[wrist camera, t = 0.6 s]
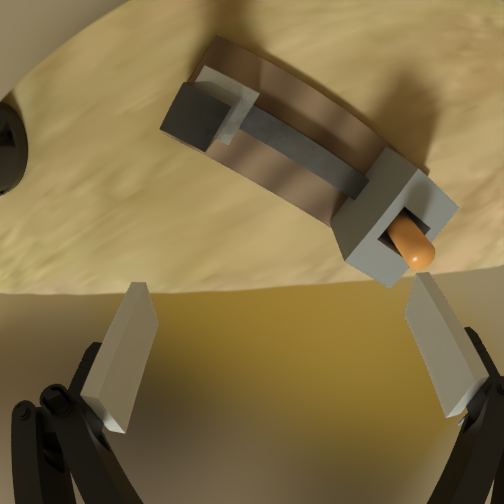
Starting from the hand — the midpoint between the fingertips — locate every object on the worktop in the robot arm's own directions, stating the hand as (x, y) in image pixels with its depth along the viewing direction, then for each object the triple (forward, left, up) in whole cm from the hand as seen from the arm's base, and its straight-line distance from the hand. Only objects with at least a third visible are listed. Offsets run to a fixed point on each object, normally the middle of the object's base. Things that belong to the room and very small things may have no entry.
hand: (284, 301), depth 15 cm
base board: (+2, +3, -25) cm, 25 cm away
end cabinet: (+13, +3, -24) cm, 28 cm away
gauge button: (+13, +3, -19) cm, 23 cm away
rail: (-1, +3, -24) cm, 24 cm away
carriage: (-9, +3, -24) cm, 26 cm away
